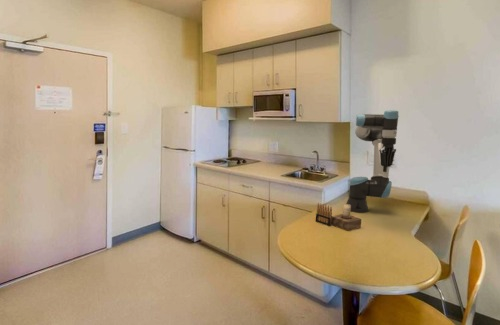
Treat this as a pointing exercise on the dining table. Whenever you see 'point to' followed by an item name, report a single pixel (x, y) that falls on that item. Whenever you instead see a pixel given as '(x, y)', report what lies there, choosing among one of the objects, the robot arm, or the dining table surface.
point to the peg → (346, 211)
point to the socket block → (346, 222)
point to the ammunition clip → (324, 215)
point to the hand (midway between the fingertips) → (385, 177)
